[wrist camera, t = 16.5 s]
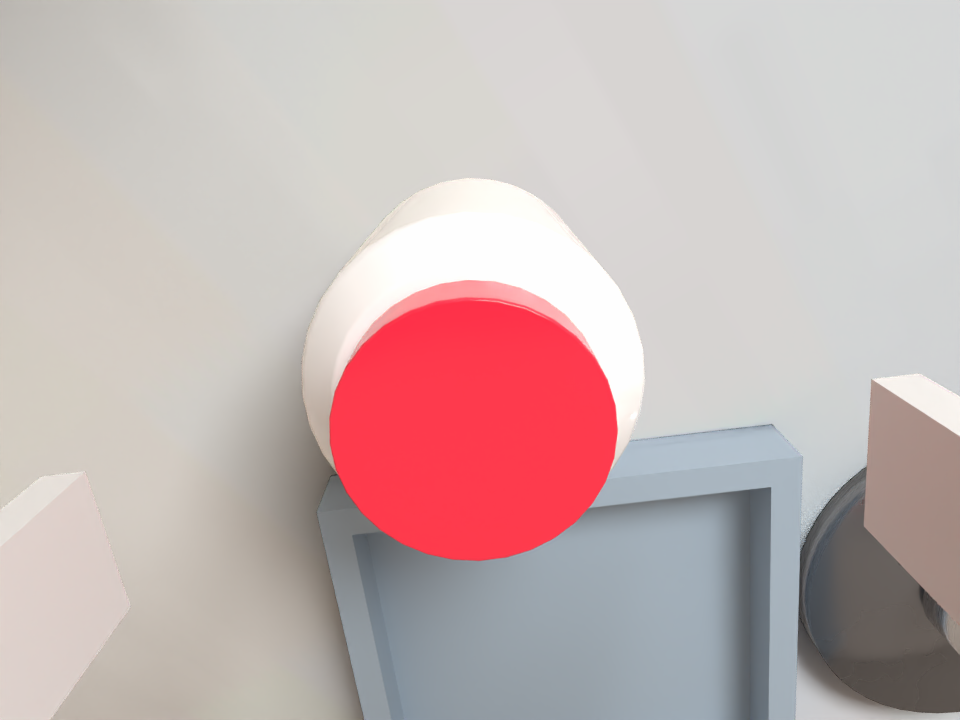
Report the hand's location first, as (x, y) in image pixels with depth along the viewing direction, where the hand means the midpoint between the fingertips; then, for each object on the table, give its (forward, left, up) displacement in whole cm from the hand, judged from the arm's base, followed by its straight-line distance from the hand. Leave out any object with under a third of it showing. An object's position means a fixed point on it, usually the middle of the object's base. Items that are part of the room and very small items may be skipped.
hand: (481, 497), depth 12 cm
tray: (+2, -14, -13) cm, 19 cm away
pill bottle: (0, 0, -13) cm, 13 cm away
